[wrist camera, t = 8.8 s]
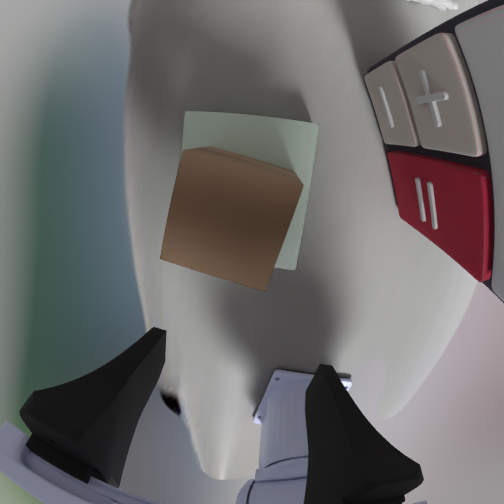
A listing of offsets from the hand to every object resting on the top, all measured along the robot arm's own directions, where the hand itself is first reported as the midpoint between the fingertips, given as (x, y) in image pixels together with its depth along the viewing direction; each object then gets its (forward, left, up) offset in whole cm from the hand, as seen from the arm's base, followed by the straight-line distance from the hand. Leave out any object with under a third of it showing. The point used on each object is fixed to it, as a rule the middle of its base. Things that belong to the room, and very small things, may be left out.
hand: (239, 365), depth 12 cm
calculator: (+12, -8, -10) cm, 17 cm away
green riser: (+6, +2, -10) cm, 12 cm away
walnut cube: (+6, +2, -7) cm, 9 cm away
